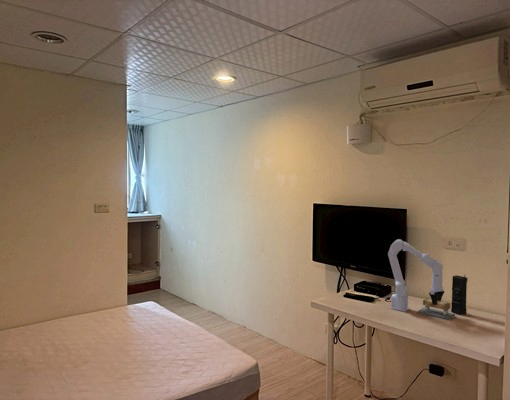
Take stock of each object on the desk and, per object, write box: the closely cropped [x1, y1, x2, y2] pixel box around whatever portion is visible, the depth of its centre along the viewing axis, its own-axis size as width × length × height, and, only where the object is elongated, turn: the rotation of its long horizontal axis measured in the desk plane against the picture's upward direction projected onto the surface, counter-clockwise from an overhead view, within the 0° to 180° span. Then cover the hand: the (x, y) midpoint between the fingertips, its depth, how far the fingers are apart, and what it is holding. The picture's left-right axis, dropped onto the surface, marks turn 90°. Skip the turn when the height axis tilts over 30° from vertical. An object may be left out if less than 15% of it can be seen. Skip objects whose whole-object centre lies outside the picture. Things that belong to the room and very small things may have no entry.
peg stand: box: [417, 305, 456, 321], centre depth 226 cm, size 18×10×4 cm, turn 44°
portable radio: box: [450, 274, 468, 316], centre depth 229 cm, size 8×6×25 cm
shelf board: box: [422, 298, 451, 311], centre depth 226 cm, size 14×6×3 cm, turn 44°
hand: (436, 303), depth 226 cm, fingers closed on shelf board, 5 cm apart
